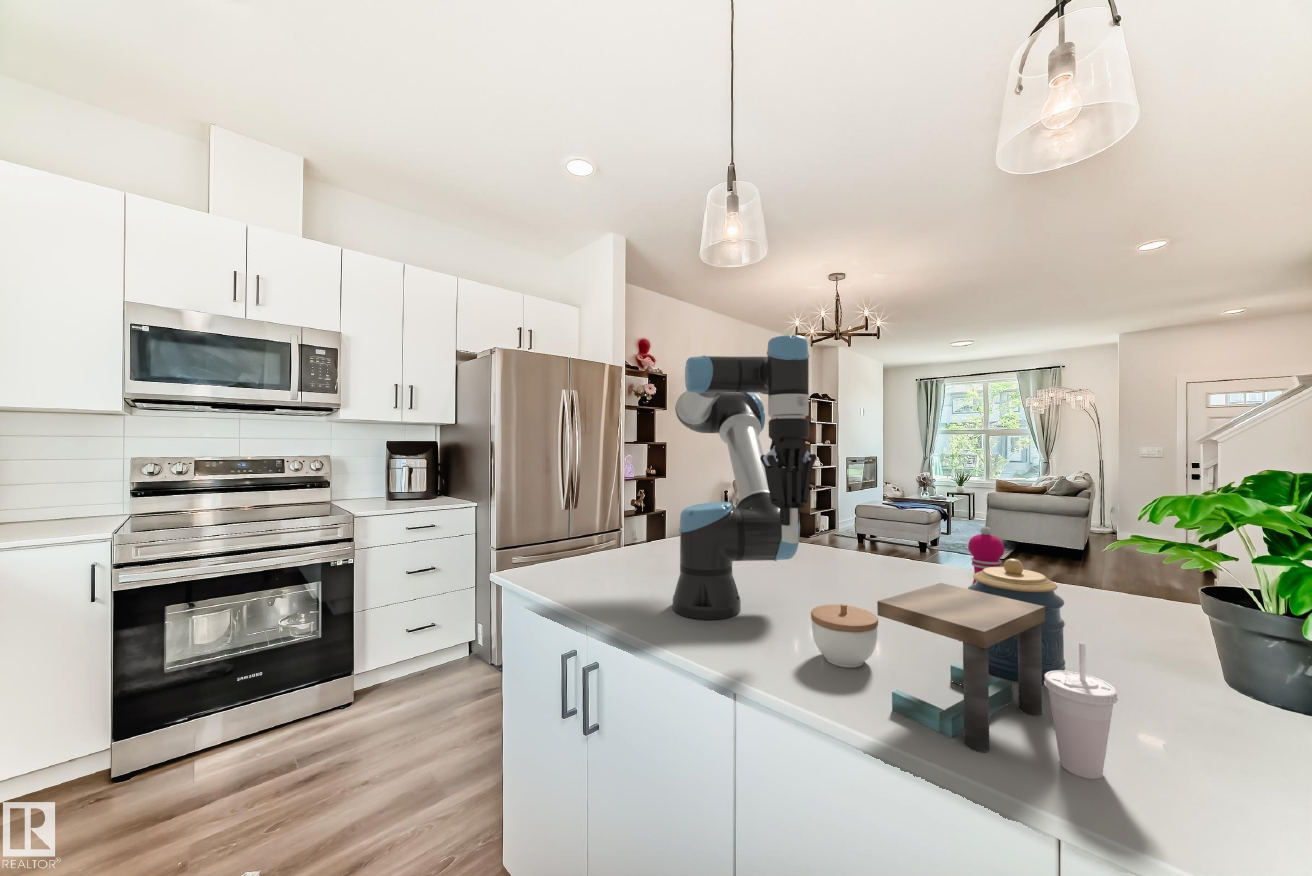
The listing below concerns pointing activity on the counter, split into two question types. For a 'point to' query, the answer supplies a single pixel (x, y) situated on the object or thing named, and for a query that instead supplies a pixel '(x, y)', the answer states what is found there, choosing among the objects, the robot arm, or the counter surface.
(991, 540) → the pepper mill
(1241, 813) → the counter surface
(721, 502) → the robot arm
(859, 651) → the lidded jar
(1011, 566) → the canister
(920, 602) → the overhang shelf
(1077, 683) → the smoothie
